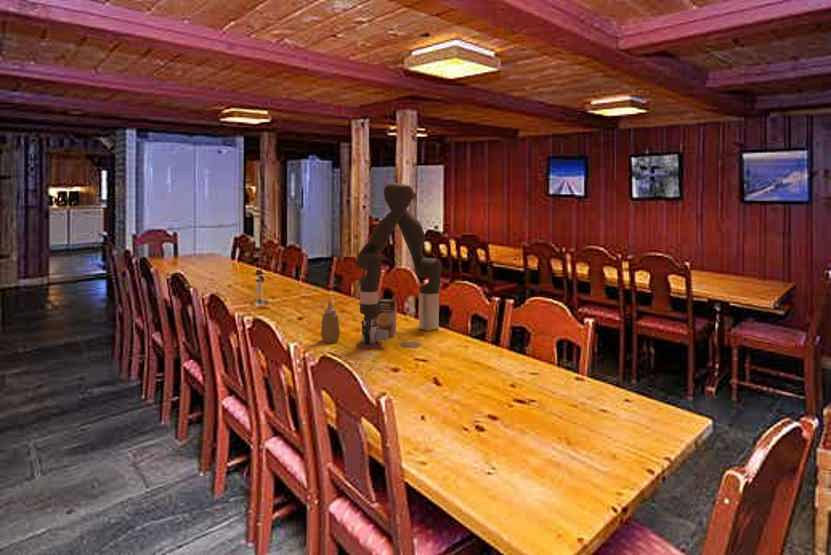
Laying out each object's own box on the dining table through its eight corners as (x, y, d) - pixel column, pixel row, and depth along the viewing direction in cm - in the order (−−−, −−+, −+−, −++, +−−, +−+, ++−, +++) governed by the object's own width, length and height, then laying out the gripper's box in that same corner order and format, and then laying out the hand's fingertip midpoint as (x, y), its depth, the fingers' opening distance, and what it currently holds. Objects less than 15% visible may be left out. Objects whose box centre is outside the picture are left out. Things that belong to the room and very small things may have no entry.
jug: (360, 347, 227) (360, 328, 225) (364, 343, 232) (364, 325, 231) (386, 349, 225) (386, 330, 223) (389, 345, 230) (389, 326, 229)
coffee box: (374, 336, 246) (374, 301, 244) (376, 332, 253) (376, 298, 250) (394, 337, 246) (394, 301, 243) (396, 333, 252) (396, 298, 249)
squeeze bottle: (336, 345, 231) (335, 303, 229) (318, 344, 233) (317, 302, 230) (342, 340, 239) (342, 299, 236) (325, 339, 241) (324, 298, 238)
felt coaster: (401, 342, 237) (401, 341, 237) (422, 343, 236) (422, 342, 236) (397, 348, 228) (397, 346, 228) (418, 349, 227) (418, 348, 227)
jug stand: (359, 342, 236) (359, 337, 236) (386, 344, 234) (386, 339, 233) (350, 350, 224) (350, 345, 224) (379, 352, 222) (379, 347, 222)
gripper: (373, 305, 218) (373, 347, 221) (382, 298, 232) (382, 337, 235) (355, 304, 220) (355, 346, 222) (364, 297, 234) (365, 336, 236)
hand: (369, 341), depth 229 cm, fingers closed on jug, 5 cm apart
